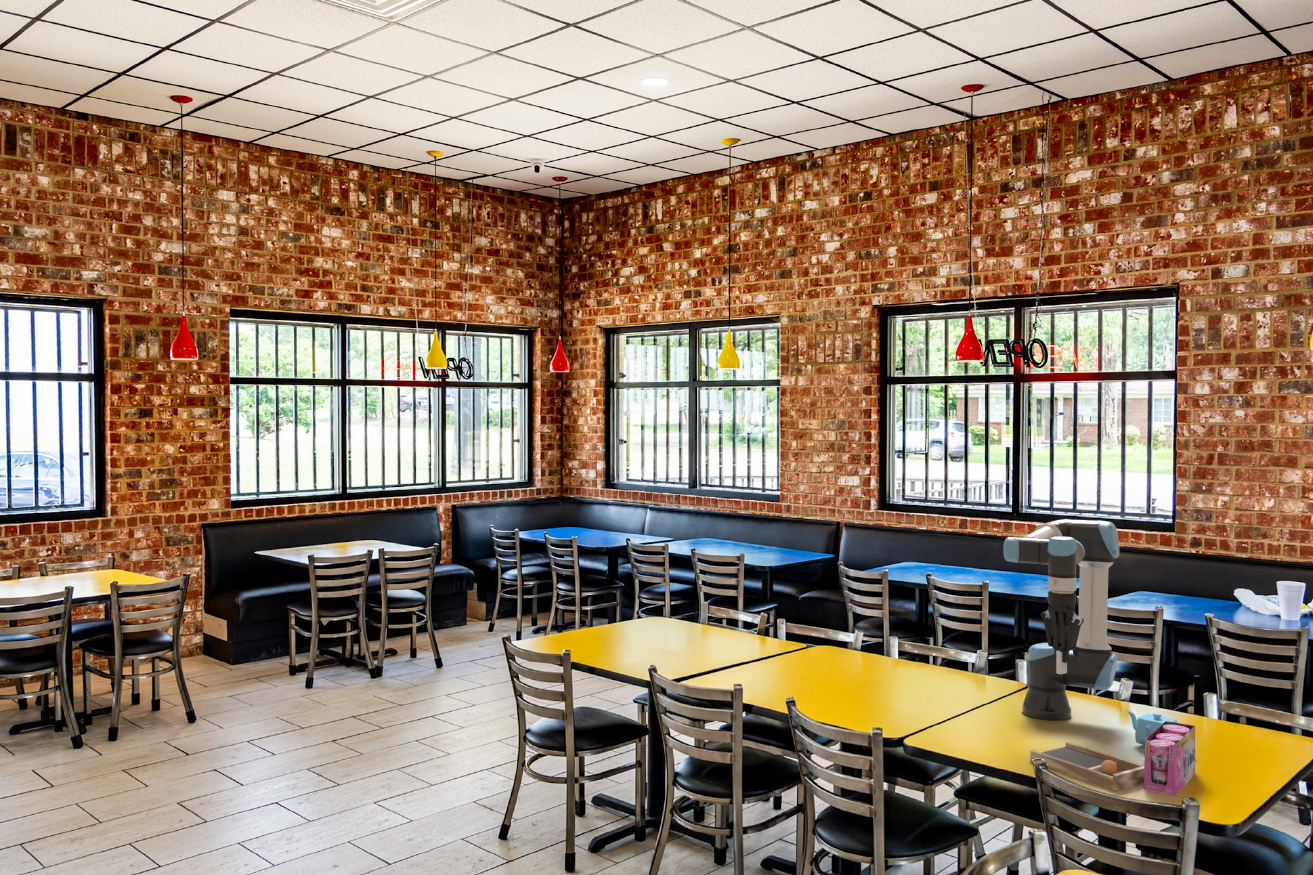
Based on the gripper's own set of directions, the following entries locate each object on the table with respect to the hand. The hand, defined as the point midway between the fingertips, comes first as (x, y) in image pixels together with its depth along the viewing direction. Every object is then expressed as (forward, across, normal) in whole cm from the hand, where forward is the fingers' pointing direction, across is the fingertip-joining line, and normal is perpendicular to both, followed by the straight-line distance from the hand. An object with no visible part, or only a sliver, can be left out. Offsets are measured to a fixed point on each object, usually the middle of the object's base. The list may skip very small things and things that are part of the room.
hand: (1061, 672), depth 292 cm
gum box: (+25, +28, +9) cm, 38 cm away
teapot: (+25, +8, +32) cm, 41 cm away
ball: (+22, +17, -2) cm, 28 cm away
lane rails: (+24, +11, -2) cm, 27 cm away
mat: (+24, +10, -2) cm, 27 cm away
